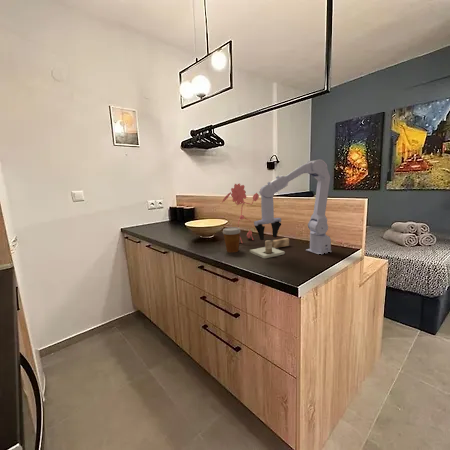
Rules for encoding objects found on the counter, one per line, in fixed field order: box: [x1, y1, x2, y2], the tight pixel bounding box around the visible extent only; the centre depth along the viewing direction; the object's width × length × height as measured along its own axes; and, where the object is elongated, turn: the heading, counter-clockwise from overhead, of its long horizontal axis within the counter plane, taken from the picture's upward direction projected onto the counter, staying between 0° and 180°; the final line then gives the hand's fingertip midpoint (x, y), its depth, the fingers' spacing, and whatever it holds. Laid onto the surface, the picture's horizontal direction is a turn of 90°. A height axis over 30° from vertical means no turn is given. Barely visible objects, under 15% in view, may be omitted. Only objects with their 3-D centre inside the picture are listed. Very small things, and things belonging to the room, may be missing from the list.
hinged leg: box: [271, 237, 290, 249], centre depth 136 cm, size 11×2×5 cm, turn 114°
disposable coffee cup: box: [222, 226, 242, 254], centre depth 133 cm, size 10×10×12 cm
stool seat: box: [249, 246, 286, 259], centre depth 126 cm, size 13×12×1 cm
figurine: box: [221, 183, 260, 244], centre depth 153 cm, size 15×26×35 cm, turn 128°
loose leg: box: [264, 239, 272, 255], centre depth 123 cm, size 3×3×7 cm
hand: (268, 238), depth 122 cm, fingers open, 7 cm apart
